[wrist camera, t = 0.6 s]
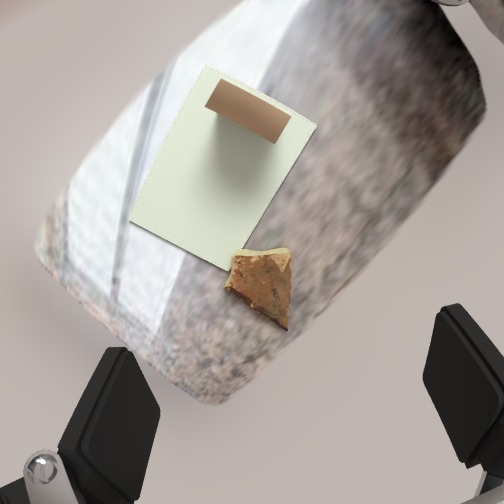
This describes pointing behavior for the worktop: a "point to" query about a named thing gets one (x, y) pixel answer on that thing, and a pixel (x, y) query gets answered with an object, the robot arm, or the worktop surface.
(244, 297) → the shard
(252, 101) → the walnut slab
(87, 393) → the robot arm
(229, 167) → the sage mat
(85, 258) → the worktop surface
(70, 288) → the worktop surface
